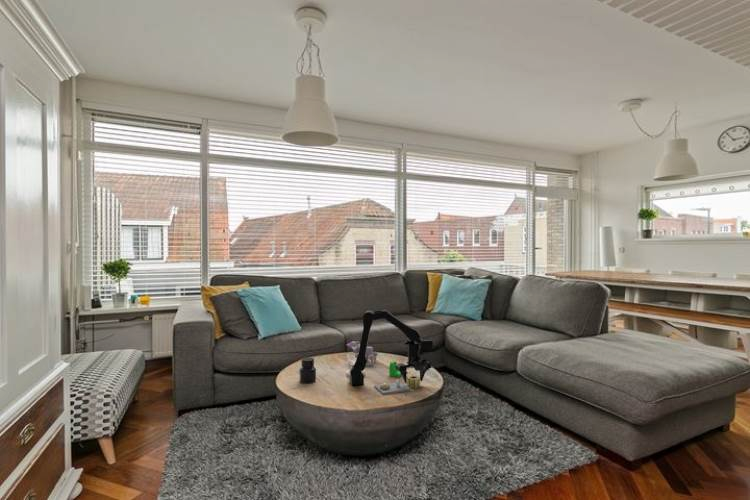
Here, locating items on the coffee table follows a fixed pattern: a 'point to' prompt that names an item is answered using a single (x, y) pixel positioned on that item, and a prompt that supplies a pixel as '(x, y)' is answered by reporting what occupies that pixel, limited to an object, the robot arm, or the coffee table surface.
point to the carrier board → (392, 388)
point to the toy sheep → (369, 351)
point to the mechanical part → (394, 370)
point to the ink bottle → (307, 370)
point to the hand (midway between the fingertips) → (413, 382)
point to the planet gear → (413, 381)
